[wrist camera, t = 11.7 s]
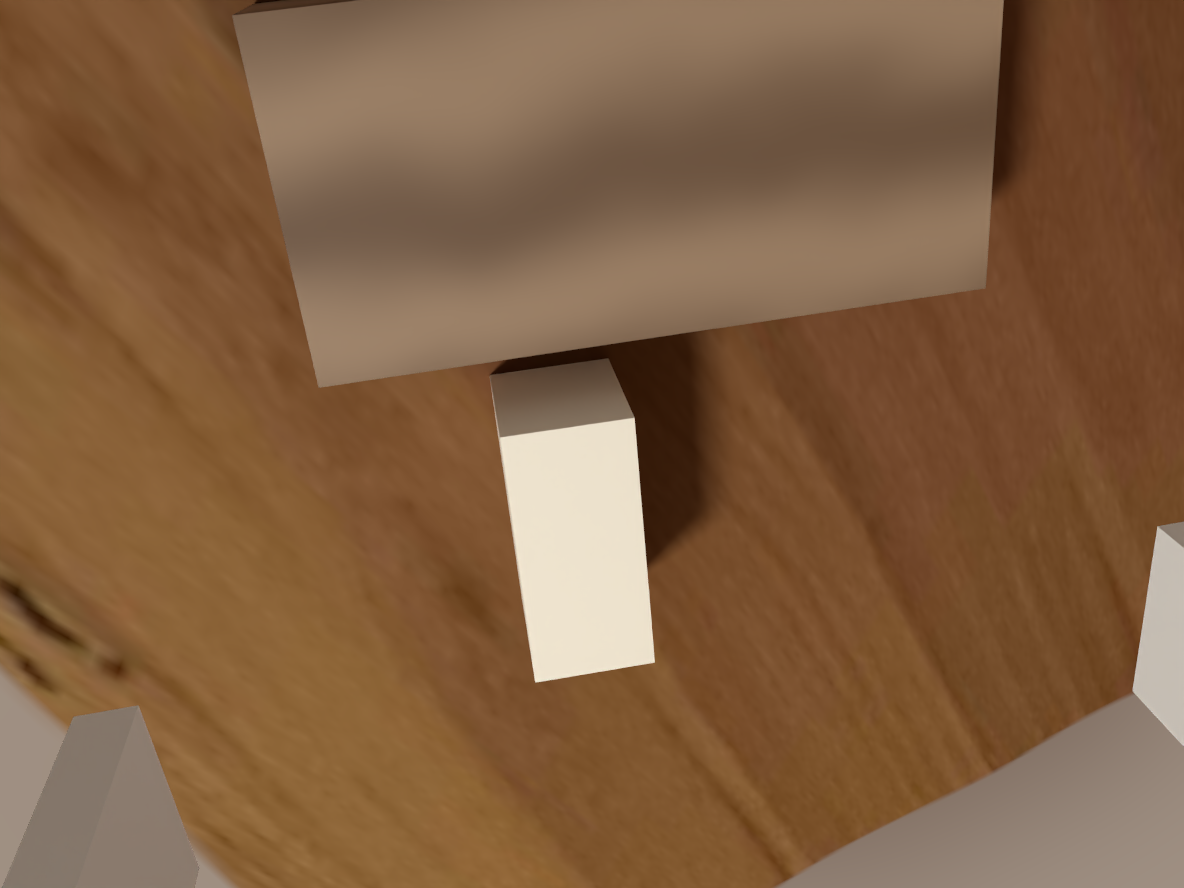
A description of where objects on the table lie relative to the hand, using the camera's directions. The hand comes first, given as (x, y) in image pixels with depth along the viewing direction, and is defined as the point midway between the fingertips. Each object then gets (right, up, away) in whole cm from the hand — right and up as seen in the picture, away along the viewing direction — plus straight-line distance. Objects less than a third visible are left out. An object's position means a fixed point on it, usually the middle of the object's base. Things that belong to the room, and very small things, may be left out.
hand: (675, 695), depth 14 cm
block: (-2, +5, +20) cm, 21 cm away
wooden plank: (0, +13, +19) cm, 23 cm away
